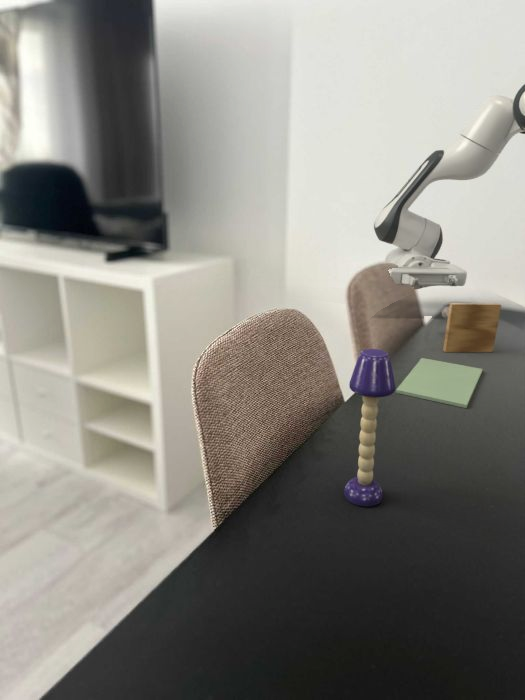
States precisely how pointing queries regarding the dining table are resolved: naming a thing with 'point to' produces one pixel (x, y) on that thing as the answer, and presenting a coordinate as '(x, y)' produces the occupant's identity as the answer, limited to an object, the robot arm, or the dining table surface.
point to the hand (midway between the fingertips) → (435, 282)
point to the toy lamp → (369, 421)
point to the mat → (441, 382)
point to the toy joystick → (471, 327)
